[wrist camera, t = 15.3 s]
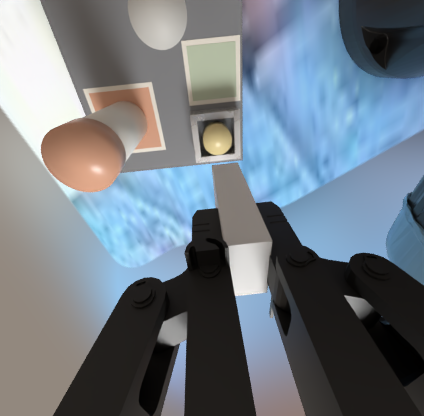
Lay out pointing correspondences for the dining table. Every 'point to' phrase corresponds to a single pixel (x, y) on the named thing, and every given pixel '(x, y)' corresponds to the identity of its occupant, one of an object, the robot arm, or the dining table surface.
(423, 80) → the dining table surface
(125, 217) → the dining table surface
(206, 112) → the button housing
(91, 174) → the ball
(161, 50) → the grey flat square panel
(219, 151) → the button
